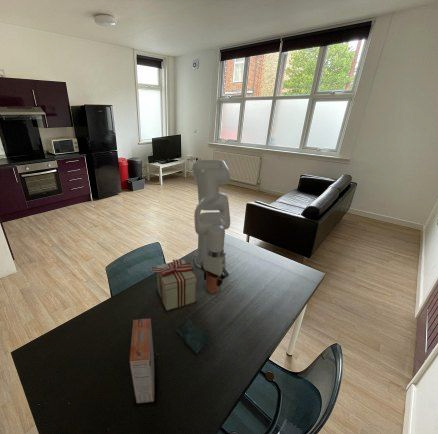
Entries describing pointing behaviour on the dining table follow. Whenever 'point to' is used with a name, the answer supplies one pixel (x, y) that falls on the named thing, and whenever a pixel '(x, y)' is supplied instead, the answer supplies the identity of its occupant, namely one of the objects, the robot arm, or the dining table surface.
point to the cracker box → (142, 360)
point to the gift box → (176, 283)
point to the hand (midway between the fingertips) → (212, 281)
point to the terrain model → (193, 336)
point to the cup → (211, 282)
